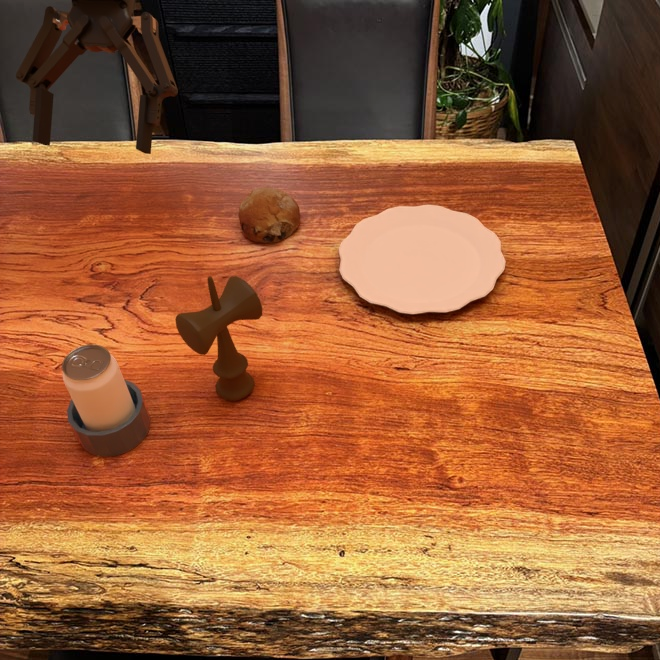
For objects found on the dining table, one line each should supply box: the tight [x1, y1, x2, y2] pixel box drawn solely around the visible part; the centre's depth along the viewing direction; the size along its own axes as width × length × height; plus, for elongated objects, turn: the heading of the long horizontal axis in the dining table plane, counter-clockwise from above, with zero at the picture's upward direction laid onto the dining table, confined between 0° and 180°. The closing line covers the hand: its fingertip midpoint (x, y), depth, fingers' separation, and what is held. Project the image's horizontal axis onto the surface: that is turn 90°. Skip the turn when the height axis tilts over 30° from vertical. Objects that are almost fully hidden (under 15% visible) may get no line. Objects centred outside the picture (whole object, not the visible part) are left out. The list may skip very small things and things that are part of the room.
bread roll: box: [238, 186, 301, 244], centre depth 129 cm, size 10×10×8 cm
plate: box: [337, 204, 507, 316], centre depth 122 cm, size 25×25×2 cm
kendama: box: [174, 275, 263, 402], centre depth 100 cm, size 6×10×20 cm, turn 138°
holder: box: [66, 379, 151, 458], centre depth 102 cm, size 9×9×4 cm
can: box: [61, 343, 136, 432], centre depth 99 cm, size 6×6×12 cm
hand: (91, 147), depth 100 cm, fingers open, 13 cm apart
